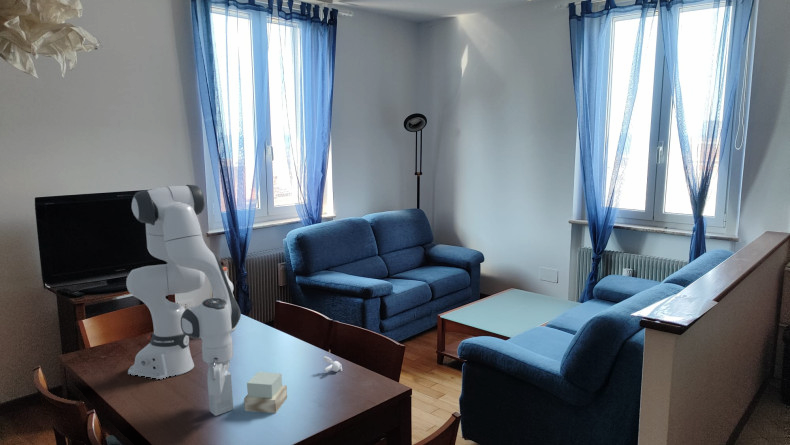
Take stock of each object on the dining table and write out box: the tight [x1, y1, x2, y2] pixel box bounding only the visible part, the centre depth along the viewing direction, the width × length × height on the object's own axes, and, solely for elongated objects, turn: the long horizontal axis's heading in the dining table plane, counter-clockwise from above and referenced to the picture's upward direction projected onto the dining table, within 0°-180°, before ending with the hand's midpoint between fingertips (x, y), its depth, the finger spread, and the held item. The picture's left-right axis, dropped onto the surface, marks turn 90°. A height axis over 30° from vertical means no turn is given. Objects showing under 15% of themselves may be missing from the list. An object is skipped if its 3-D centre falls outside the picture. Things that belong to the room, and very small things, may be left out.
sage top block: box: [246, 371, 283, 399], centre depth 169 cm, size 8×8×4 cm
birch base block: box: [243, 384, 288, 414], centre depth 170 cm, size 10×10×4 cm
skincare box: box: [206, 370, 234, 416], centre depth 165 cm, size 6×4×12 cm
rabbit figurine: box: [322, 355, 343, 373], centre depth 193 cm, size 6×4×8 cm
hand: (220, 395), depth 165 cm, fingers open, 7 cm apart
